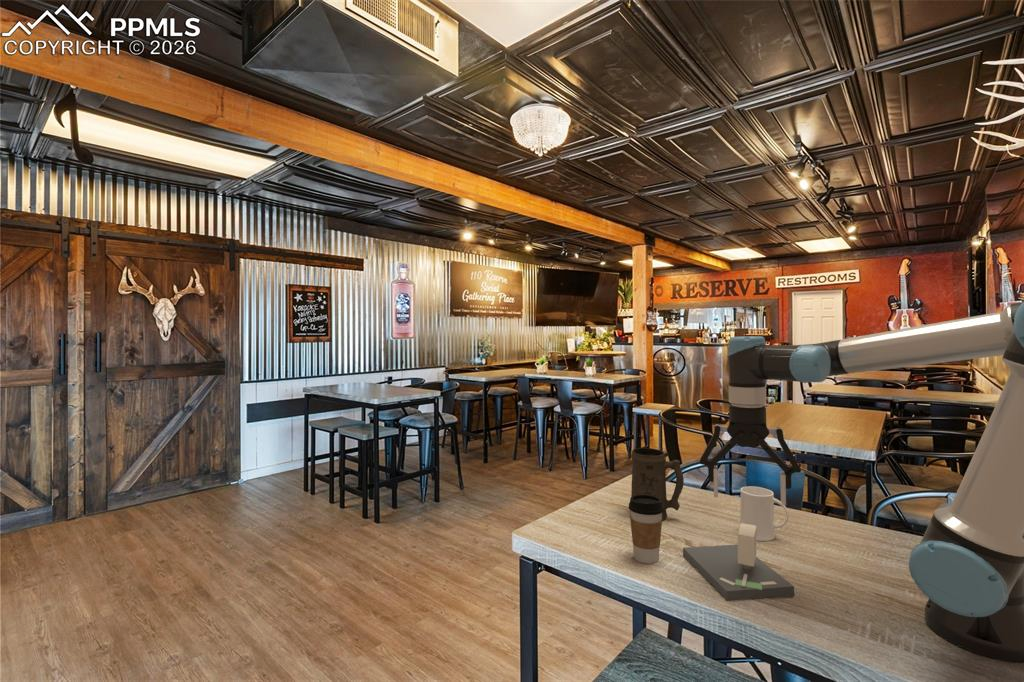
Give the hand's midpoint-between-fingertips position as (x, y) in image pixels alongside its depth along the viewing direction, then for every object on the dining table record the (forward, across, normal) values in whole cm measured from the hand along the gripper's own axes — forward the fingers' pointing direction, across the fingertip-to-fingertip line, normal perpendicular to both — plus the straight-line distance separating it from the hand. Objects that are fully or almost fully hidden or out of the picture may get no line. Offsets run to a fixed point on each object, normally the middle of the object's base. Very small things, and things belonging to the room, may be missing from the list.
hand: (748, 499), depth 109 cm
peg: (+16, +1, +2) cm, 16 cm away
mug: (+18, -4, -26) cm, 32 cm away
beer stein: (+18, +24, -29) cm, 42 cm away
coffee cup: (+18, +23, -1) cm, 29 cm away
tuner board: (+18, +3, -1) cm, 18 cm away
